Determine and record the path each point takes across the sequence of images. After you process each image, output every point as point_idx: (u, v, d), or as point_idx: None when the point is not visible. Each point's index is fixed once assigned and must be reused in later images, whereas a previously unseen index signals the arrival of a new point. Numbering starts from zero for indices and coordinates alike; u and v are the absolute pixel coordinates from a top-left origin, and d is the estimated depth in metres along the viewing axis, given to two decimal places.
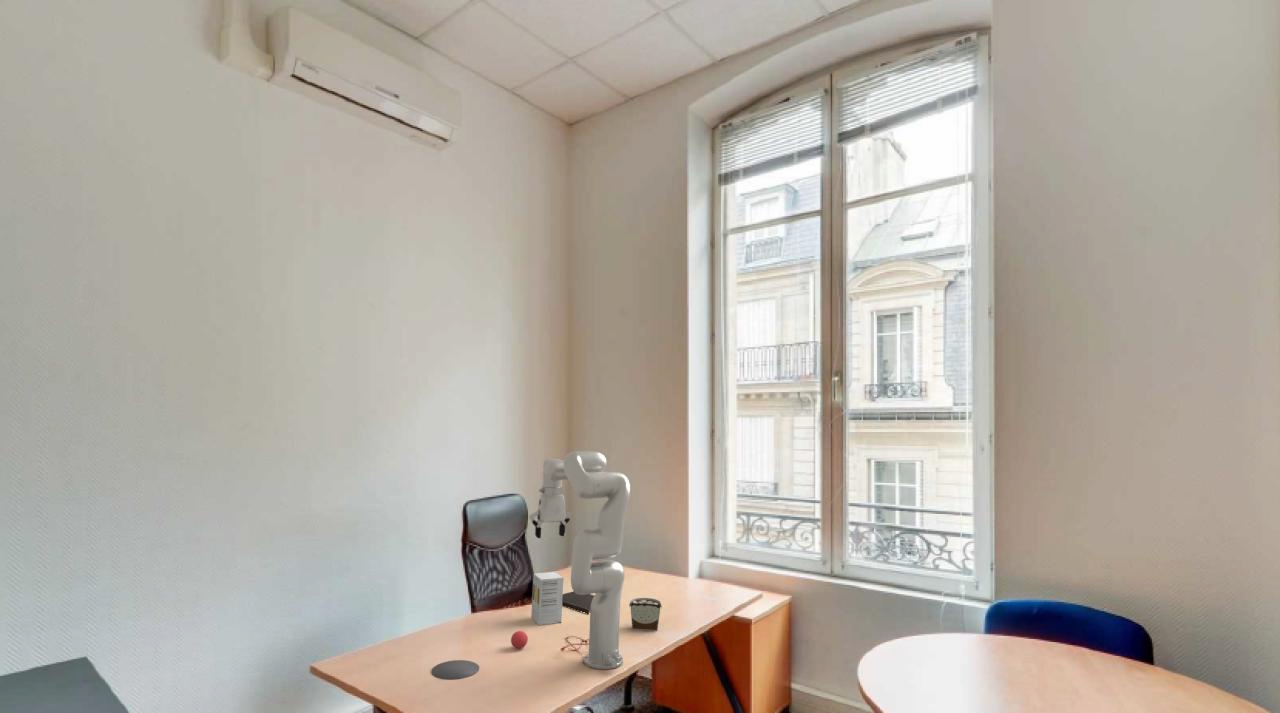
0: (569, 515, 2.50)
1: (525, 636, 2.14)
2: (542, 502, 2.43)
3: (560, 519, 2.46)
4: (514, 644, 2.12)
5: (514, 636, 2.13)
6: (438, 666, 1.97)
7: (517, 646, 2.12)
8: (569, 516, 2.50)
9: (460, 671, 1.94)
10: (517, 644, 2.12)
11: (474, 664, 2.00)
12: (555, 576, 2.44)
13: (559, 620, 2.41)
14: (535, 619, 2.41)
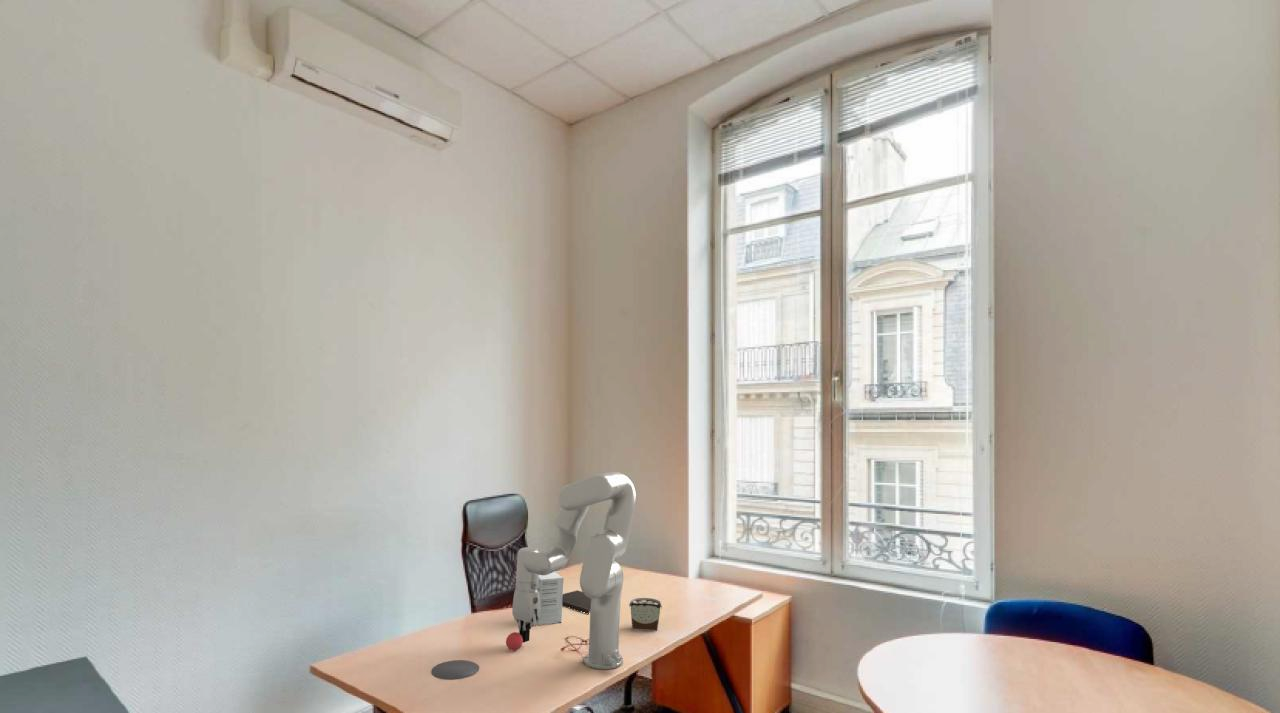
0: None
1: (518, 637, 2.12)
2: (539, 598, 2.16)
3: None
4: (510, 648, 2.11)
5: (508, 642, 2.11)
6: (438, 666, 1.97)
7: (514, 649, 2.12)
8: None
9: (460, 671, 1.94)
10: (513, 648, 2.11)
11: (474, 664, 2.00)
12: (555, 576, 2.44)
13: (559, 620, 2.41)
14: None
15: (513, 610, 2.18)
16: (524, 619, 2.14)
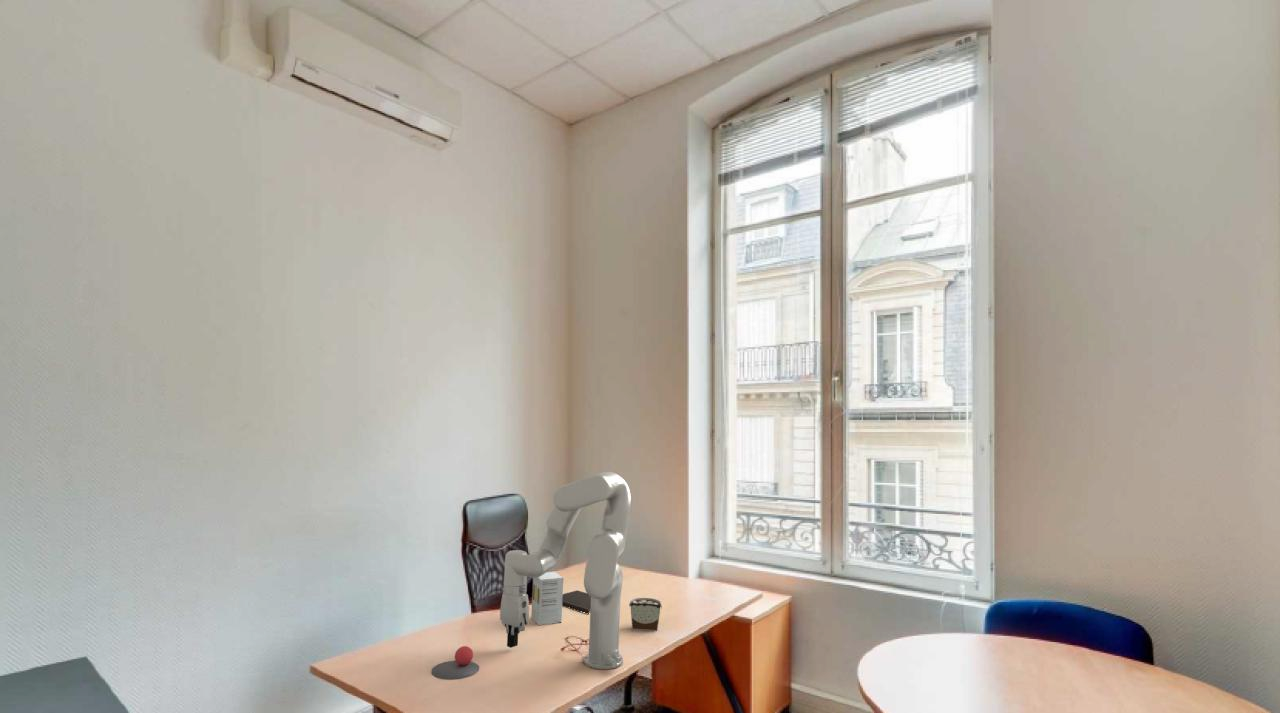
0: None
1: (465, 653, 1.98)
2: (528, 602, 2.12)
3: None
4: (463, 665, 1.98)
5: (457, 662, 1.98)
6: (438, 666, 1.97)
7: None
8: None
9: (460, 671, 1.94)
10: (465, 664, 1.98)
11: (474, 664, 2.00)
12: (555, 576, 2.44)
13: (559, 620, 2.41)
14: (535, 619, 2.41)
15: (501, 614, 2.14)
16: (513, 623, 2.10)
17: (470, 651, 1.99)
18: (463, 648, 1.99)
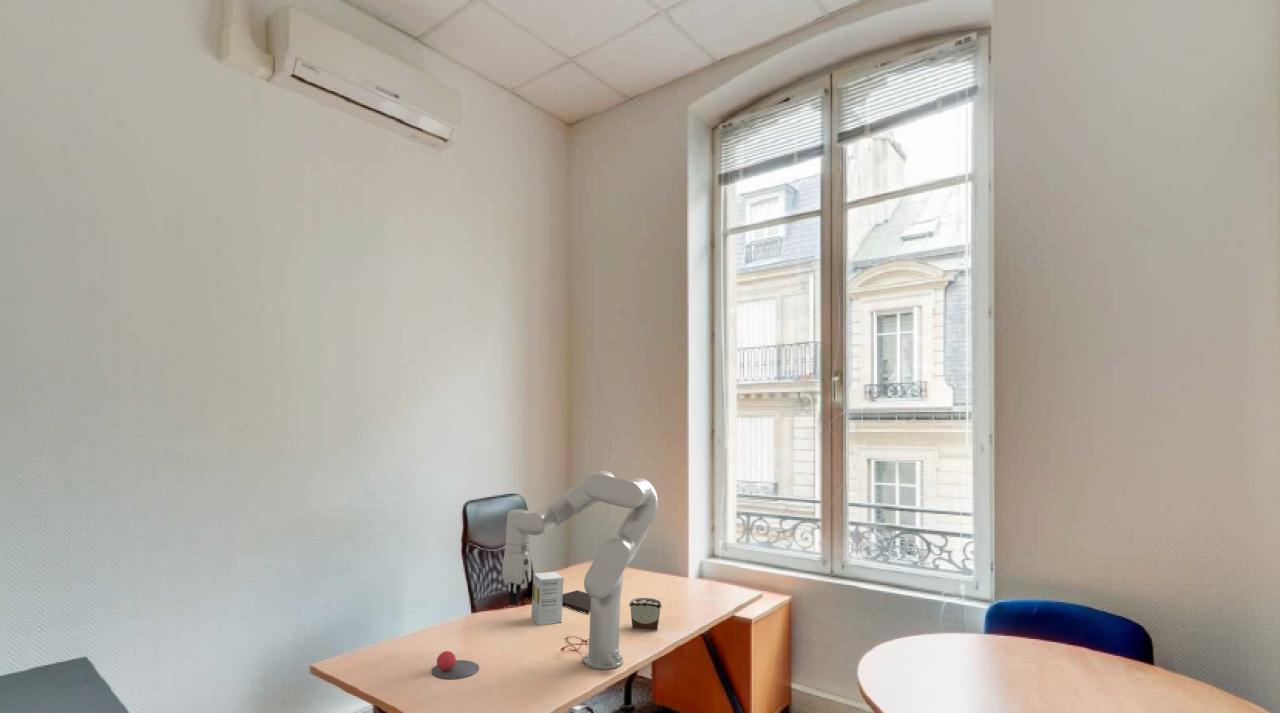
0: None
1: (447, 668, 1.93)
2: (530, 560, 2.13)
3: None
4: (454, 655, 1.96)
5: None
6: None
7: (453, 655, 1.95)
8: None
9: (460, 671, 1.94)
10: (454, 657, 1.95)
11: (474, 664, 2.00)
12: (555, 576, 2.44)
13: (559, 620, 2.41)
14: (535, 619, 2.41)
15: (503, 573, 2.15)
16: (515, 580, 2.11)
17: (444, 665, 1.92)
18: (442, 670, 1.93)
